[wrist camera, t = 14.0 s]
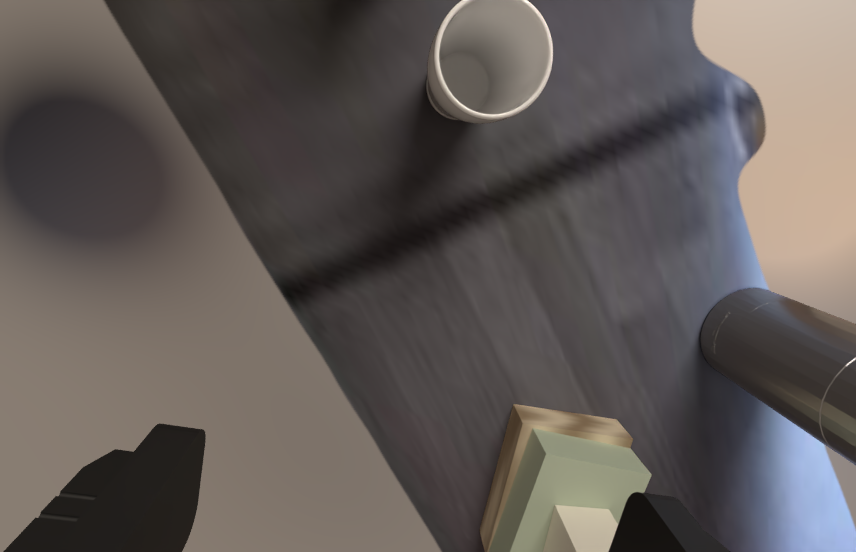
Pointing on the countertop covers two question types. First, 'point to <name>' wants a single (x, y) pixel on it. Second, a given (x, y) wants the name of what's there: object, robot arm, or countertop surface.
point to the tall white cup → (488, 60)
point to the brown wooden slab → (517, 441)
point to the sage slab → (564, 486)
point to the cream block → (580, 530)
